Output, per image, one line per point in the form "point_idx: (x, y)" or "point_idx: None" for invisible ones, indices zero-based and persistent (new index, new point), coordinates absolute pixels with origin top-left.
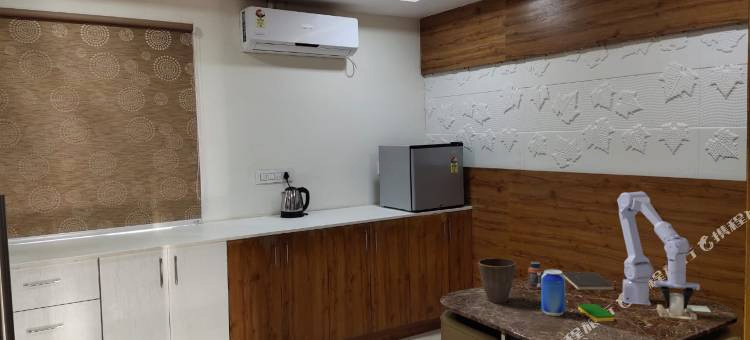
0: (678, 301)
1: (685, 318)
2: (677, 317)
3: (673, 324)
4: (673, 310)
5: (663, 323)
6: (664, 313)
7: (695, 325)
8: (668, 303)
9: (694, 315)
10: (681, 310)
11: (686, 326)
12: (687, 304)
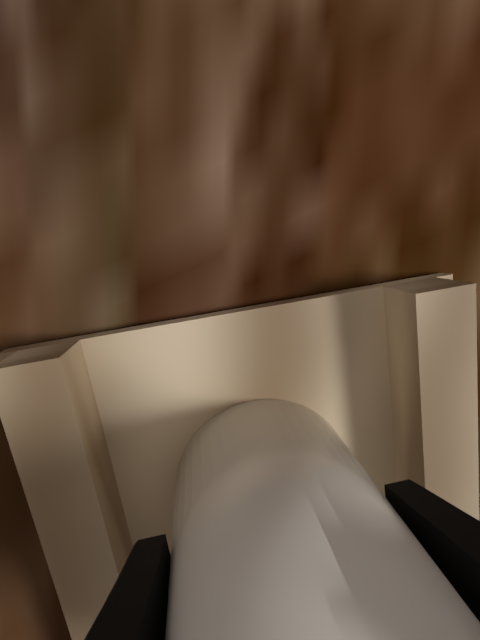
0: (294, 566)
1: (156, 335)
2: (253, 333)
3: (308, 50)
4: (318, 435)
5: (427, 42)
6: (435, 289)
7: (25, 131)
8: (442, 518)
9: (17, 366)
10: (209, 464)
11: (142, 22)
12: (100, 610)
